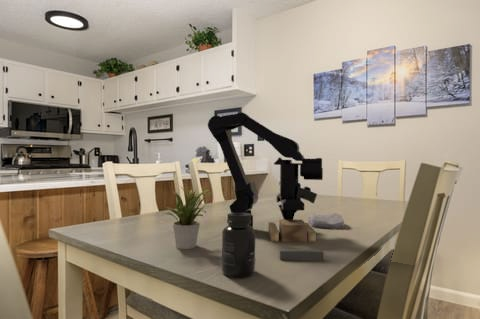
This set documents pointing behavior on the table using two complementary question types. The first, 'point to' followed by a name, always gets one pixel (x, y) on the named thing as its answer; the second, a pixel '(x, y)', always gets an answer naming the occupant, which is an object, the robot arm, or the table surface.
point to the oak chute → (275, 233)
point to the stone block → (326, 220)
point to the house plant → (187, 220)
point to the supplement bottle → (238, 246)
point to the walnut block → (292, 230)
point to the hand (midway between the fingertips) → (288, 228)
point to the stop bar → (301, 254)
